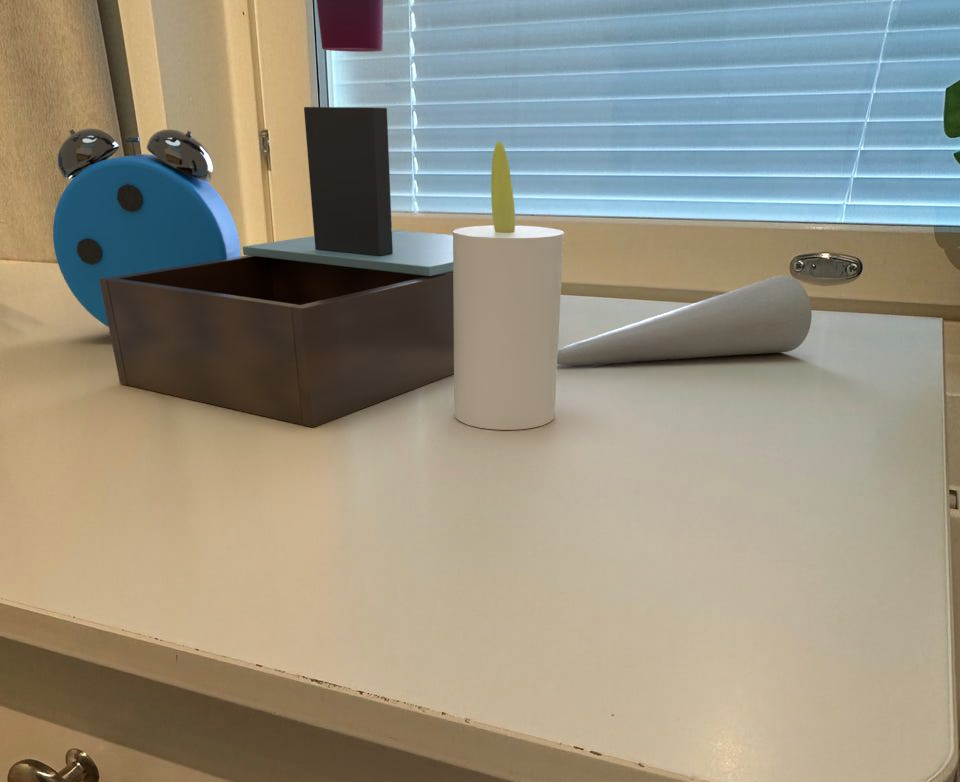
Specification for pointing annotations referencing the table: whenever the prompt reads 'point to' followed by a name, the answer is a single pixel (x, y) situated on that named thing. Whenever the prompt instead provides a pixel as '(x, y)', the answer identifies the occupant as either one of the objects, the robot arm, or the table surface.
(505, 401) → the candle
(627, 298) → the table surface
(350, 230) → the upright panel on base
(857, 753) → the table surface
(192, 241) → the alarm clock
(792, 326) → the long tapered cone
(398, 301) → the display box
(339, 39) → the cup
